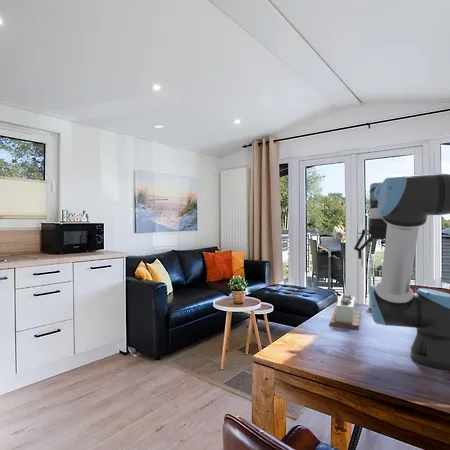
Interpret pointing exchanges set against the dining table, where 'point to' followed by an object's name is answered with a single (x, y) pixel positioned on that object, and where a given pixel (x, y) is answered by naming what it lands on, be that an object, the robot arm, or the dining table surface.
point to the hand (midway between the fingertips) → (379, 267)
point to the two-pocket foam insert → (345, 310)
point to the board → (346, 324)
